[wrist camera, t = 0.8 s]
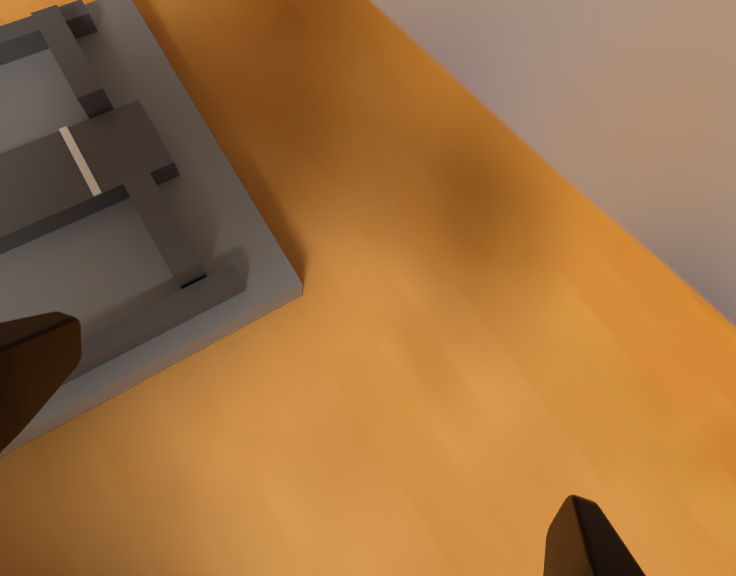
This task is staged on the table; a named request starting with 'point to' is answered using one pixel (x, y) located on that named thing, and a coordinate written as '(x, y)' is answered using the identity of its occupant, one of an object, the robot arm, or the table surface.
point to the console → (120, 205)
